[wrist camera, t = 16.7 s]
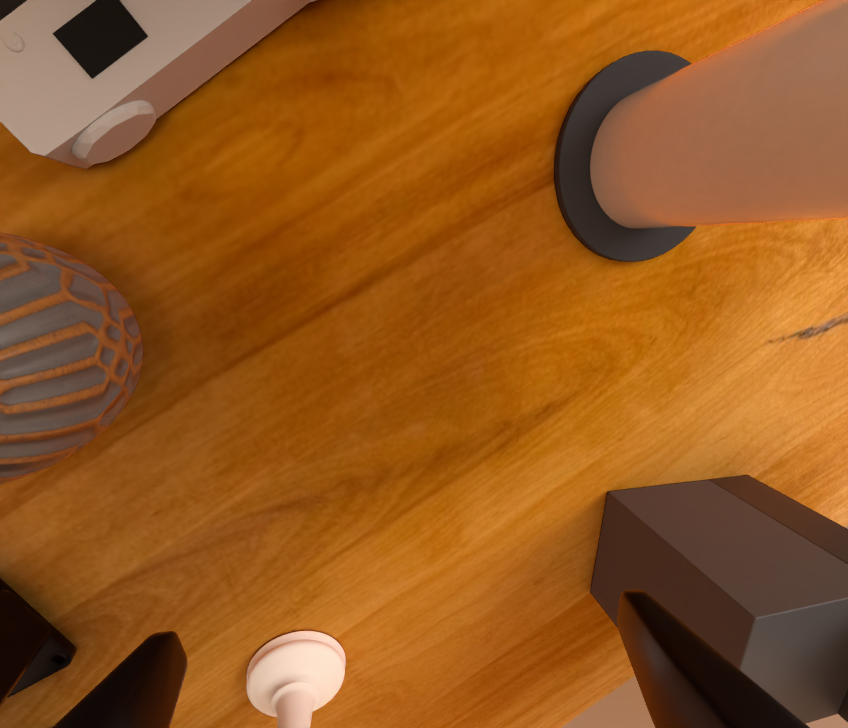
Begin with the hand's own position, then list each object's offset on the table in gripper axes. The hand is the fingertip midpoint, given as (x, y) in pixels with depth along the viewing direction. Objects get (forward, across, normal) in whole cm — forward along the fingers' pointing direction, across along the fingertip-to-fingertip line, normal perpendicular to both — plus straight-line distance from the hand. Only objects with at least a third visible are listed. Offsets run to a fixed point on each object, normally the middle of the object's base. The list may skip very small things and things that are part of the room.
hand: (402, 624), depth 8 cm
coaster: (+14, -11, -9) cm, 20 cm away
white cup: (+14, -11, -9) cm, 20 cm away
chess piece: (+9, +7, +14) cm, 18 cm away
